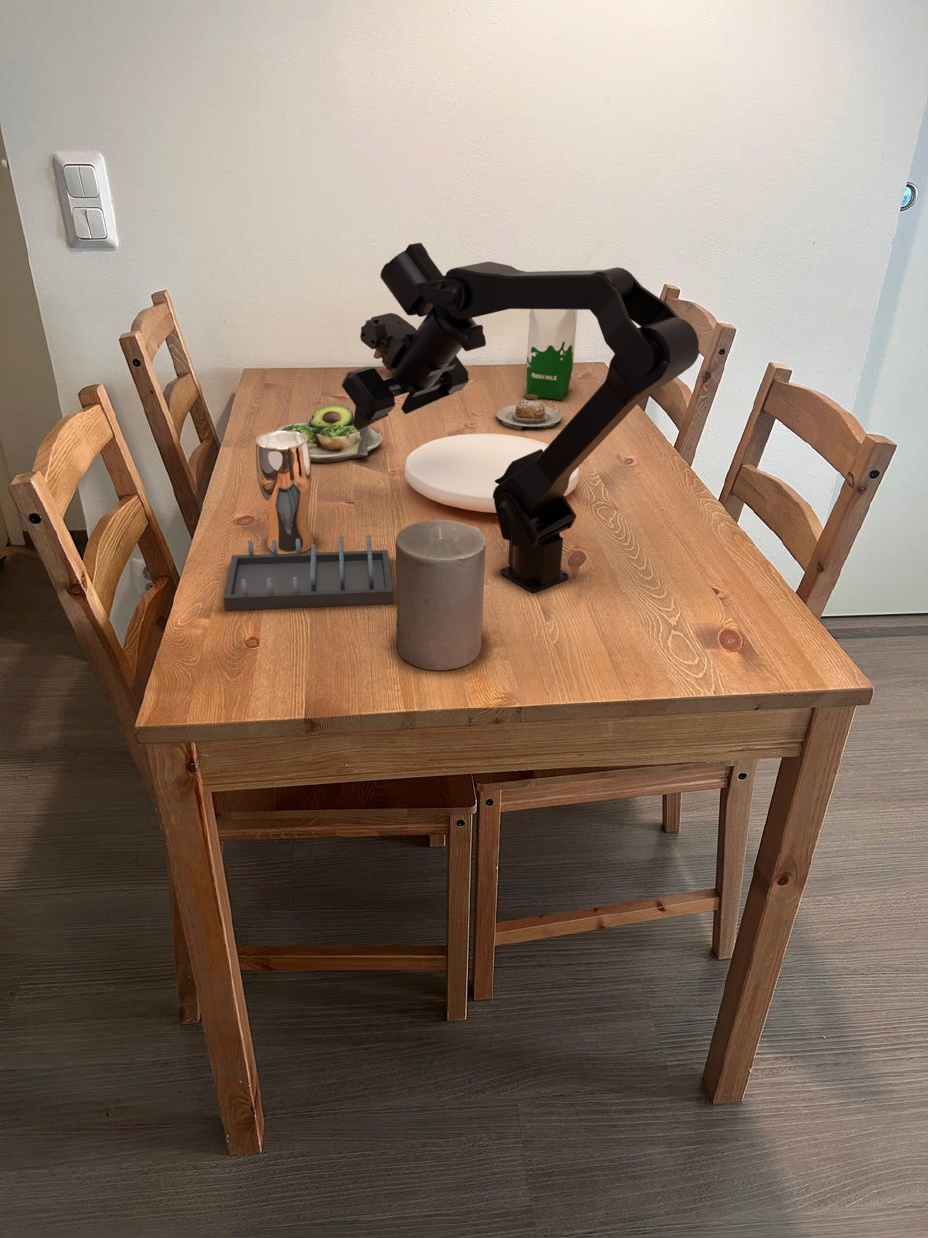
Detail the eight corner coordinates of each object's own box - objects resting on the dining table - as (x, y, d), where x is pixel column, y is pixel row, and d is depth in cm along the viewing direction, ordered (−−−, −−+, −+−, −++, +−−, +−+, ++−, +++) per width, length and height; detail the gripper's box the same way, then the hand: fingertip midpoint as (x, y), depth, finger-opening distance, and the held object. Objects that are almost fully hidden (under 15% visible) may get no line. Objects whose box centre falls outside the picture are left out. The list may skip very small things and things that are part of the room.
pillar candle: (378, 646, 105) (375, 525, 97) (441, 616, 111) (442, 500, 103) (437, 682, 99) (438, 557, 91) (500, 648, 105) (506, 528, 97)
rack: (388, 561, 122) (387, 527, 120) (392, 603, 113) (392, 567, 110) (233, 567, 120) (229, 532, 117) (225, 610, 111) (220, 573, 108)
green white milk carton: (573, 389, 188) (582, 286, 177) (564, 402, 180) (573, 295, 170) (531, 384, 190) (537, 282, 179) (520, 397, 182) (526, 291, 172)
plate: (429, 421, 155) (588, 436, 151) (427, 458, 158) (583, 475, 154) (383, 465, 130) (572, 485, 126) (382, 509, 133) (567, 530, 129)
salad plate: (408, 456, 155) (408, 429, 152) (309, 476, 146) (307, 448, 144) (358, 421, 169) (357, 396, 166) (264, 437, 160) (262, 411, 158)
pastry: (558, 434, 165) (560, 409, 163) (491, 429, 167) (492, 404, 164) (563, 412, 176) (565, 388, 173) (500, 408, 177) (501, 384, 175)
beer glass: (258, 538, 127) (247, 433, 119) (307, 530, 130) (300, 426, 122) (271, 560, 122) (261, 451, 114) (322, 551, 124) (316, 444, 117)
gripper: (447, 283, 123) (395, 359, 134) (343, 305, 110) (295, 387, 122) (496, 349, 121) (438, 420, 133) (396, 380, 109) (342, 454, 121)
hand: (380, 418), depth 127 cm, fingers open, 9 cm apart
